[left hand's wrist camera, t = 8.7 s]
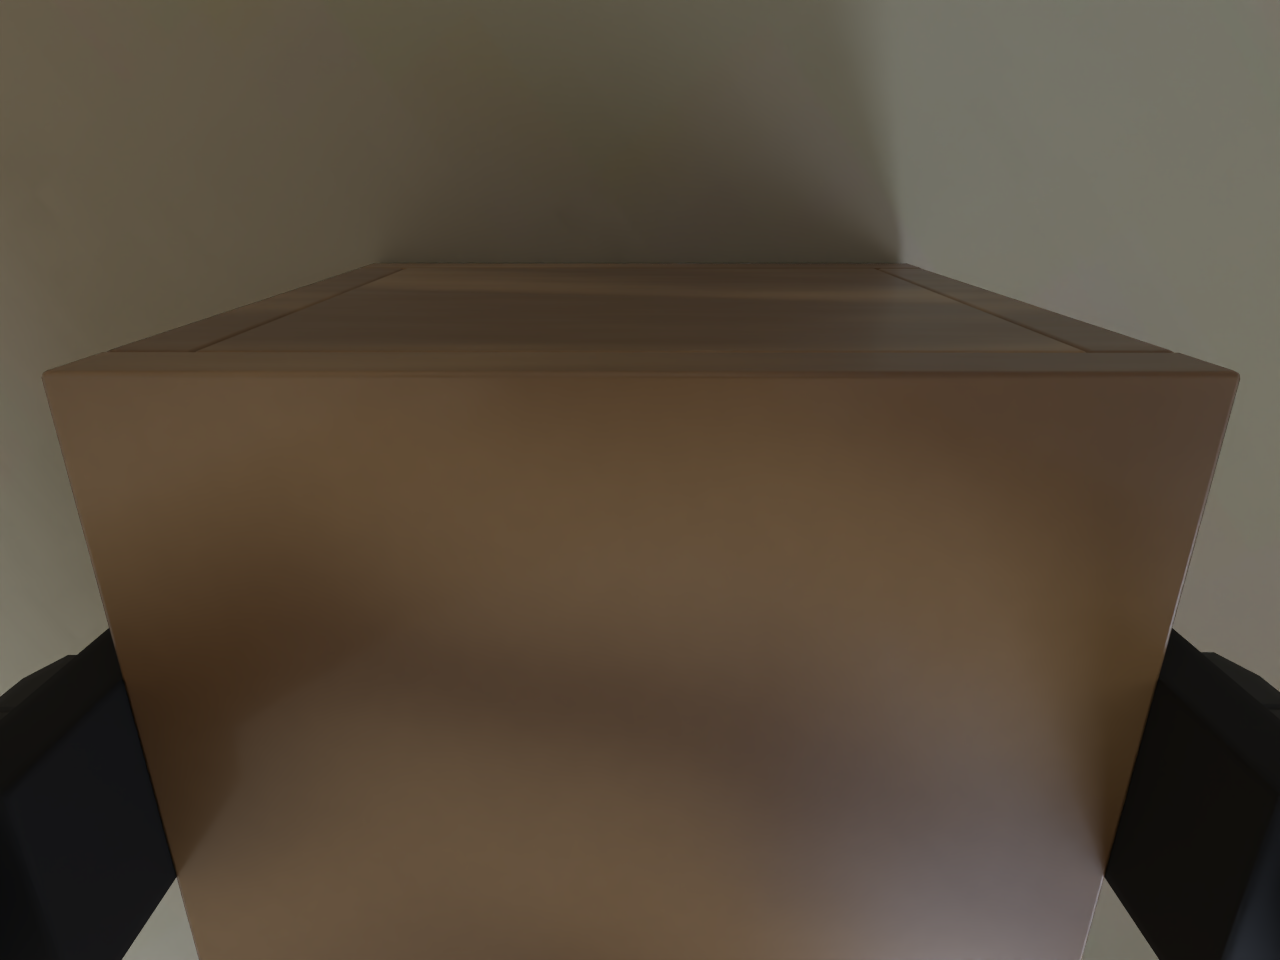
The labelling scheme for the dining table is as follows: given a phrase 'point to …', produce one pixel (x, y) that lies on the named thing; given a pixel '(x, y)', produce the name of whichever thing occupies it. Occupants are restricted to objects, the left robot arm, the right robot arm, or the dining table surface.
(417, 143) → the dining table surface
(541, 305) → the cabinet
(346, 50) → the dining table surface
